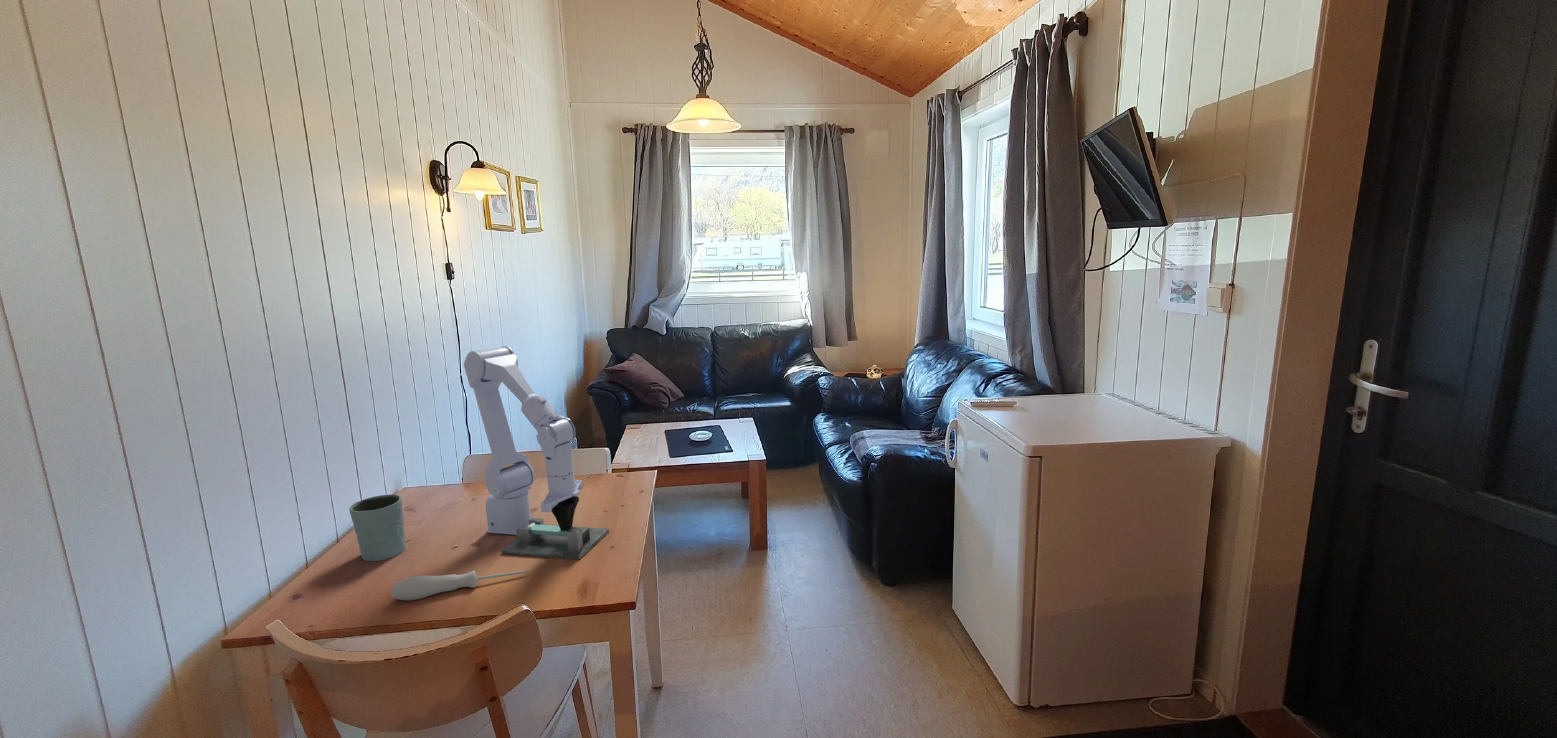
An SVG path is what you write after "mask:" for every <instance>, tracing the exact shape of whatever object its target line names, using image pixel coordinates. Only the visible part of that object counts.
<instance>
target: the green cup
mask: <svg viewBox="0 0 1557 738" xmlns="http://www.w3.org/2000/svg"><path fill="white" fill-rule="evenodd" d="M348 510H349V511H348V512H349V513H350V514H349V515H350V519H351V521H352V523H353V528H354V532H355V534H356V540H357V542H358V546H359V551H360V555H361V558H362V560H363V561H366V562H379V561H383V560H385V561H386V560H388V559H391V558H394V557H396V556H398V555H401V554H402V553H403V552H405V550H406V547H407V546H406V538H405V528H404V526H405V525H404V523H405V522H404V513H403V499H402V496H401V495H399V494H380V495H376V496H371V497H366V498H364V499H361V500H359V501H357V502H354V503H352V504H351V505H350V506H349V509H348Z"/></svg>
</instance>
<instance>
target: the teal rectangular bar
mask: <svg viewBox="0 0 1557 738" xmlns="http://www.w3.org/2000/svg"><path fill="white" fill-rule="evenodd" d="M555 525H556V524H553V525H552V524H544V525H542V524H536V523H532V524H530V525H529V526H527V527H531V531H532V534H540V535H552V536H565V537H567V534H566V532H567V531H561V530H560V527H559V525H558V526H555ZM580 527H581V528H583V532H582V538H584V537H585V536H586V535H587V534H588V533H589V528H585V527H586V526H580Z"/></svg>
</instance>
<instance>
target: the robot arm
mask: <svg viewBox="0 0 1557 738" xmlns="http://www.w3.org/2000/svg"><path fill="white" fill-rule="evenodd" d="M463 368H464V369H465V374H466V377H467V381H468V385H469V387H470V389H472V390H473V392H474V396H475V400H476V402H477V406H478V410H479V414H480V416H481V420H482V424H483V428H484V431H485V434H486V438H487V442H488V444H489V447H490V448H489V449H490V452H491V456H492V458H491V459H490V461H489V462H488V463H487V465H486V466H485V467H484V470H483V471H485V472H484V473H485V486H486V489H487V491H488V493H489V495H488V497H487V498H486V502H485V512H486V520H487V521H486V522H487V530H486V533H487V534H495V535H496V534H498V535H500V534H501V535H511V536H513V535H514V536H517V532H516V529H517V528H518V527H527V526H529V519H531V518H532V514H531V504H530V493H529V491H530V490H531V486H532V485H533V484H534V482H535V476H536V474H535V471H534V468H533V467H532V465H531V463H530V462H529V459H528V456H527V455H525V454H523V453H522V452H519V451H517V450H516V445H515V443H514V439H513V436H512V432H511V428H510V425H509V421H508V418H507V415H506V411H505V407H504V404H503V402H502V397H501V394H500V390H499V388H500V387H501V384H504V386H505V387H507V389H508V390H509V391H510V392H511V393H512V394H513V395H514V396H515V397H516V398H517V400H519V402H520V403H521V407H520V411H521V412H522V414H523V415H524V417H525V418H526V419H527V420H528V421H529V423H530V424H531V425H532V427H533V428H534V429H535V431H536V432H537V435H536V440H537V442H538V444H539V446H540V449H541V453H542V455H543V456H544V460H545V469H546V470H545V471H546V479H547V488H548V493H547V494H546V497H544V499H543V501H542V502H541V503H540V511H541V513H550V512H551V513H552V514H553V516H554V518H555V519H556V522H557V523H558V524H557V525H558V526H559V527H560V530H561V531H568V530H569V529H570V528H572V526H573V523H574V517H575V512H576V509H577V506H578V504H579V502H580V497H579V495H580V494H581V490H582V489H583V488H584V487H583V485H584V484H583V480H580V479H579V480H578V479H575V471H574V462H573V460H574V459H573V452H572V442H573V441H574V440H575V439H576V427H575V426H574V423H573V422H572V420H571V419H570V418H568V417H565V416H563V415H562V414H558V412H557V411H556V410H555V408H553V406H552V405H551V404H550V402H549V401H548V399H547V398H546V397H545V396H544V395H542V394H538V393H537V394H536V393H535V391H534V390H533V388H532V387H531V385H530V384H529V383H528V381H527V379H526V378H525V376H524V375H523V373H522V372H521V370H520V368H519V359H518V356H517V355H516V353H515V352H514V350H513V349H512V348H511V347H510V346H507V345H502V346H499V347H494V348H489V349H481V350H472V351H469V352H468V353H467V355H466V357H465V359H464V362H463Z"/></svg>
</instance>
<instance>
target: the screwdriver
mask: <svg viewBox="0 0 1557 738" xmlns="http://www.w3.org/2000/svg"><path fill="white" fill-rule="evenodd" d="M529 572H531V570H529V569H526V570H525V569H524V570H517V571H510V572H504V573H497V574H490V575H484V576H478V574H477V571H476V570H471V571H470V572H468V573H464V574H455V573H451V574H446V575H425V574H424V575H415V576H414V575H413V576H409V577H406V578H403V579H401V580H398V581H397V582H395V584H394V585H393V586H392V588H391V590H390V594H391V596H392V597H393V598H394V599H396V600H398V601H416V600H422V599H424V598H426V597H430V596H433V595H437V594H440V593H444V592H445V593H446V592H451V591H452V592H453V591H455V590H457V589H461V588H471V589H476V587H477V583H478V581H481V580H482V581H483V580H487V579H494V578H500V577H507V576H514V575H521V574H527V573H529Z"/></svg>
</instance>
